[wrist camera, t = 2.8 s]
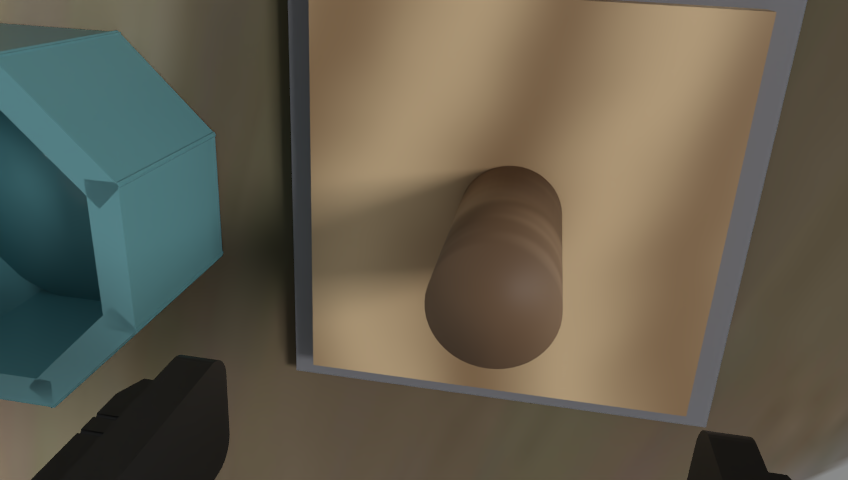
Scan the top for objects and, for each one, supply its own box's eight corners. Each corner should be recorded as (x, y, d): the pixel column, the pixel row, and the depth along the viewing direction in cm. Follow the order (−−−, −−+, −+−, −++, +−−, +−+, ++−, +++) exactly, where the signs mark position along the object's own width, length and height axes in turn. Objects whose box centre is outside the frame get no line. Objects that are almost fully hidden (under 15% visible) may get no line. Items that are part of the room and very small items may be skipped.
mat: (806, -28, 20) (813, -27, 20) (702, 417, 26) (705, 427, 25) (293, -55, 22) (286, -55, 22) (301, 361, 28) (296, 370, 27)
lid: (766, 8, 20) (873, 39, 13) (681, 399, 25) (727, 568, 18) (318, -18, 22) (209, -3, 15) (321, 350, 27) (240, 487, 20)
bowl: (210, 37, 24) (105, 62, 18) (228, 330, 28) (148, 423, 23) (-87, 15, 25) (-265, 33, 20) (-27, 296, 30) (-160, 375, 24)
